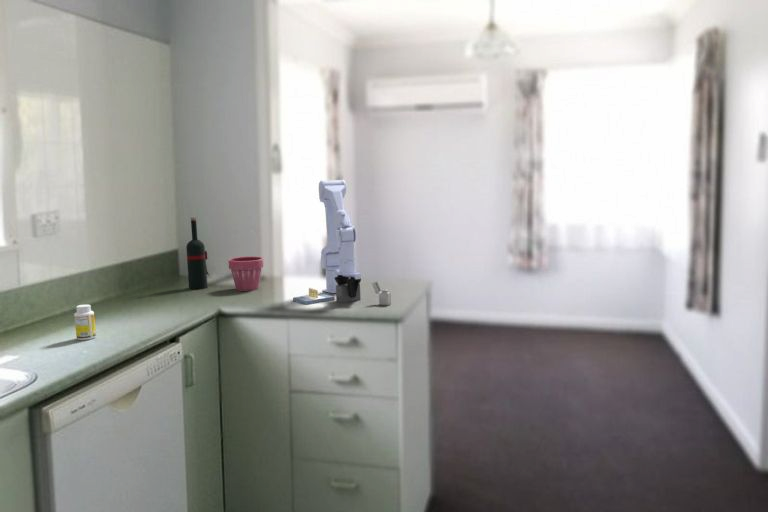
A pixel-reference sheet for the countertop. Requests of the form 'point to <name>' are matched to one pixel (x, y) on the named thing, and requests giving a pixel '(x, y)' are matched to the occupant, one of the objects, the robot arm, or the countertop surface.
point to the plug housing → (345, 294)
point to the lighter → (382, 294)
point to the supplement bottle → (85, 323)
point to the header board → (313, 297)
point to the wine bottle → (196, 260)
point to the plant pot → (246, 272)
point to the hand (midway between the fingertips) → (348, 296)
